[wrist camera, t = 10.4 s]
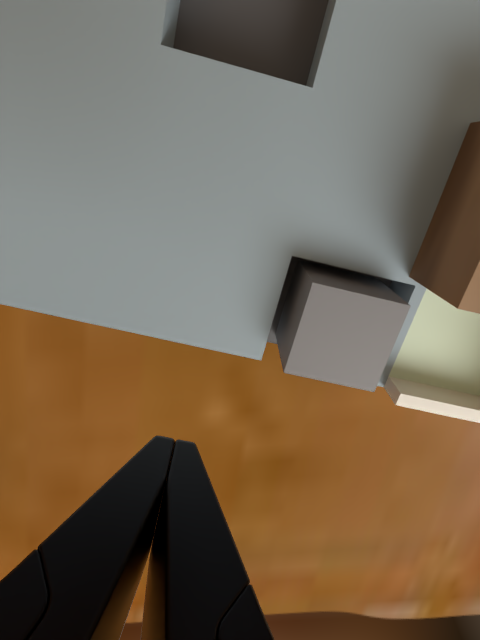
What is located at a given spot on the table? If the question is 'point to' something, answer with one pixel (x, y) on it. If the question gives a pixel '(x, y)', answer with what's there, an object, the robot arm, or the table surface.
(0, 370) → the table surface
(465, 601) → the table surface
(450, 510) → the table surface
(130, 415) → the table surface
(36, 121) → the deck
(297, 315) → the gray block
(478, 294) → the walnut block
